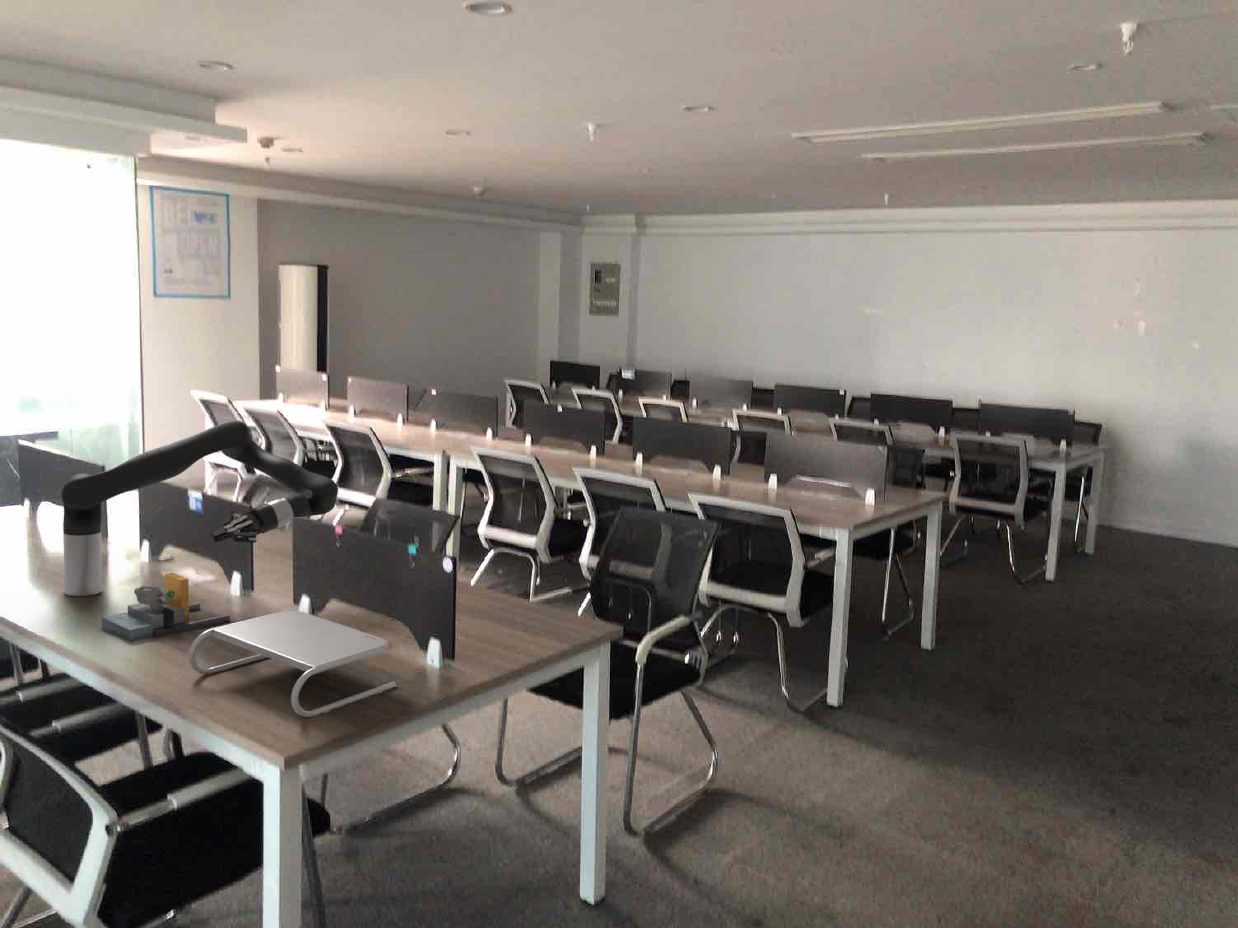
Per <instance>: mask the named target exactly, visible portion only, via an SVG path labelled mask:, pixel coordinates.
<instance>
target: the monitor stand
mask: <svg viewBox="0 0 1238 928" xmlns="http://www.w3.org/2000/svg"><path fill="white" fill-rule="evenodd" d="M213 635H214V638H216V639H219V640H222V641H225V642H226V643H230V644H233V645H235V646H237V647H241V648H242V649H245V650H248V651H251V652H253V653H256V655H252V656H248V657H244V658H242V659H238V660H234V661H230V662H227V663H224V664H220V665H217V666H213V667H209V668H204V667H202V666H200V665H199V664H198V662H197V659H196V654H197V650H198V648H199V646H200V644H201V643H202V642H203V641H204V640H205V639H206V638H208V637H210V636H213ZM389 647H390V643H389V641H387V639H385V638H382V637H379V636H377V635H373V634H371V633H367V632H365V631H362V630H358V629H356V628H353V627H349V626H347V625H343V624H340V623H337V622H334V621H331V620H328V619H326V618H322V617H319V616H316V615H314V614H310V613H307V612H303V611H297V610H283V611H277V612H273V613H269V614H265V615H261V616H258V617H252V618H249V619H245V620H241V621H237V622H233V623H228V624H224V625H220V626H216V627H212V628H210V629H207V630H205V631H204V632H202V633H200V634H199V635H198V636H197V637H196V638H195V640H194V641H192V644H191V646H190V647H189V650H188V654H187V655H188V657H187V658H188V659H187V660H188V663H189V665H190V667H191V668H192V669H193V671H194V672H196V673H199V674H201V675H213V674H216V672H217V673H219V671H220V672H225V671H224V670H226V671H228V670H230V669H229V668H231V669H233V668H232V667H234V668H236V667H235V666H238V667H241V666H244V665H243V664H245V665H248V664H251V663H250V662H252V663H254V662H253V661H255V662H259V661H262V660H265V658H266V659H268V658H269V659H271V660H274V661H277V662H280V663H282V664H285V665H287V666H290V667H293V668H295V669H298V670H301V671H303V672H304V673H302V675H300V676H299V678H298V679H297V680H296V682H295V684H294V686H293V688H292V691H291V695H290V703H291V707H292V708H293V710H294V712H295V713H296V714H297V715H299V716H301V717H303V718H313V716H314V717H316V715H317V716H320V715H322V714H321V713H323V714H326V712H327V713H329V711H330V710H331V711H333V710H332V709H334V708H337V709H339V707H340V708H342V707H344V705H345V706H347V705H346V704H348V703H351V704H353V703H356V702H358V701H357V700H359V701H361V700H360V699H362V700H364V698H365V699H367V698H369V696H370V697H372V696H371V695H373V696H375V695H374V694H376V695H379V694H378V693H380V694H383V693H384V692H386V691H385V690H387V689H390V690H392V689H394V688H393V687H395V688H397V686H398V684H397V682H396V681H391V682H388V683H386V684H383V685H380V686H377V687H374V688H371V689H369V690H366V691H363V692H360V693H357V694H354V695H351V696H348V697H345V698H342V699H340V700H337V701H335V702H332V703H329V704H325V705H323V706H320V707H317V708H314V709H312V710H305V709H304V708H303V707H302V706H301V705H300V701H299V695H300V691H301V689H302V687H303V685H304V684H305V683H306V681H307V680H308V679H310V677H312V676H314V675H316V674H320V673H324V672H326V671H329V670H332V669H335V668H339V667H342V666H344V665H345V666H346V665H348V664H351V663H355V662H358V661H361V660H364V659H367V658H370V657H373V656H376V655H379V654H380V655H381V654H382V653H385V652H386V651H387V650H388V649H389ZM258 660H259V661H258ZM247 663H248V664H247ZM240 665H241V666H240ZM227 669H228V670H227ZM391 688H392V689H391ZM383 691H384V692H383ZM387 691H388V690H387ZM382 692H383V693H382ZM366 697H367V698H366ZM355 701H356V702H355ZM352 702H353V703H352ZM348 705H349V704H348ZM341 706H342V707H341ZM334 710H335V709H334ZM331 711H330V712H331ZM319 714H320V715H319Z"/></svg>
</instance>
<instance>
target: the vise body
mask: <svg viewBox="0 0 1238 928" xmlns="http://www.w3.org/2000/svg"><path fill="white" fill-rule="evenodd" d="M200 609H201V603H200V602H195V603H194V602H193V603H189V612H192V611H197V610H200ZM226 622H227V623H228V622H231V615H230V614H222V615H219V616H213V617H209V618H204V619H199V620H194V621H190V622H189V623H185V624H180V625H176V626H171V627H165V626H164V614H163V613H160V612H158V611H156V610H153V609H151V608H150V606H146V605H145V604H140V603H134V604H130V605H127V612H126V611H125V612H121V613H116V614H111V615H106V616H105V615H104V616H101V629H102V630H104V631H106V632H108V633H110V634H113V635H114V636H117V637H119V638H120V639H123V640H125V641H127V642H130V643H131V642H135V641H140V640H141V641H142V640H145V639H150V638H158V637H164V636H168V634H169V635H172V634H177V633H181V632H185V631H186V632H187V631H190V630H195V629H196V630H197V629H200V628H203V627H204V628H205V627H209V626H213V624H214V625H217V624H218V625H219V624H223V623H226Z"/></svg>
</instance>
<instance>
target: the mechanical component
mask: <svg viewBox="0 0 1238 928" xmlns="http://www.w3.org/2000/svg"><path fill="white" fill-rule="evenodd" d="M134 594H135V596H136V600H137V602H138V604H142V605H147V606H148V605H149V606H150V605H151V609H153V610H156V611H158V612H160V610H161V609H162V607H161V606H165V605H167V604H168V603H170V602H172V601H173V599H174V597H173V596H174V591H172V590H166V591H165V590H164V591H163V590H161V587H159V586H148V585H147V586H146V585H145V586H144V585H141V586H139V587H138V588H135V589H134ZM162 599H163V600H162ZM160 613H161V612H160Z"/></svg>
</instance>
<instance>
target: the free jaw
mask: <svg viewBox="0 0 1238 928" xmlns="http://www.w3.org/2000/svg"><path fill="white" fill-rule="evenodd" d="M189 588H190V587H189V578H186V577H184V576H181V575H179V574H177V573H174V572H170V573H169V572H167V573H164V592H165V591H166V590H172V591H174V596H173V597H174V599H173V601H172V602H170V603H168V604H167V605H165V606H161V607H162V609H161V610H160V612H161V613H163V614H164V627H165V628H167V627H171V626H176V625H180V624H185V623H190V622H189V620H190V619H189V617H190V616H189V615H190V613H189V612H190V611H189V604H190V603H189V594H190V593H189V591H190V590H189ZM162 600H164V599H162ZM149 608H151V605H149Z"/></svg>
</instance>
